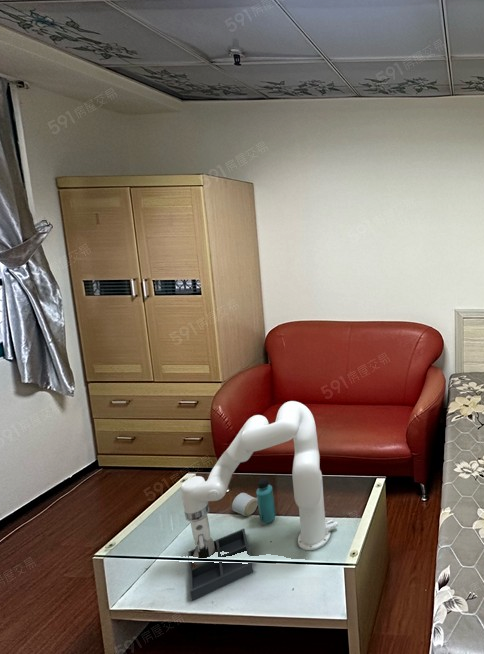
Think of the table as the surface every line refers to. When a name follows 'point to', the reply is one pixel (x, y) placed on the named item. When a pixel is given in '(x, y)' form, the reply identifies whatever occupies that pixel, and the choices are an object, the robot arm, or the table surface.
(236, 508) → the ceramic mug
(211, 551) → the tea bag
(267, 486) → the beverage bottle
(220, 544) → the tray
